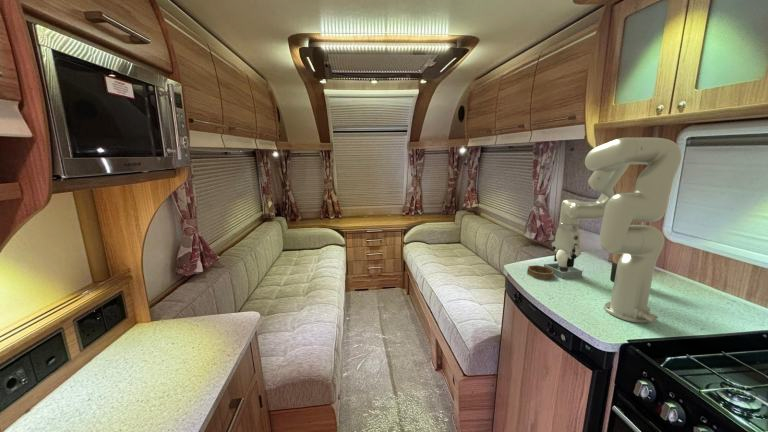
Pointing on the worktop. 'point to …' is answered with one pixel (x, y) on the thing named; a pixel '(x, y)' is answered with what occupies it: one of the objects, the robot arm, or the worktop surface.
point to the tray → (570, 273)
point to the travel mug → (614, 266)
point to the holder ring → (540, 275)
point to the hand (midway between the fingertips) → (563, 263)
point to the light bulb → (562, 260)
